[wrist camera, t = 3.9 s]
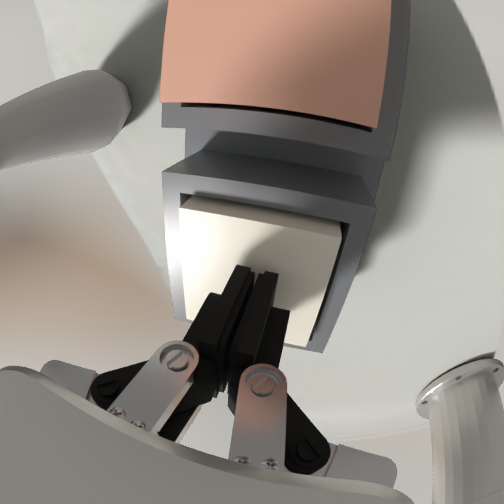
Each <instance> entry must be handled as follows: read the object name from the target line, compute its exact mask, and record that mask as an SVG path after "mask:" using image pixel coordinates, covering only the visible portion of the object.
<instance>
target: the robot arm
mask: <svg viewBox="0 0 504 504" xmlns="http://www.w3.org/2000/svg"><path fill="white" fill-rule="evenodd" d="M278 276H279V274H278V273H274V272H269V271H265V272H264V274H261V273H259V274H258V277H257V279H256V282H255V285H254V279H255V272H252V271H251V268H250V267H246V266H242V265H236V266H235V268H234V270H233V272H232V274H231V276H230V278H229V280H228V282H227V284H226V286H225V288H224V290H223V292H222V294H217V293H213V292H210V293H209V294H208V296H207V298H206V299H205V301H204V303H203V305H202V307H201V308H200V310H199V312H198V314H197V316H196V317H195V319H194V321H193V323H192V325H191V327H190V328H189V330H188V332H187V334H186V335H185V337H184V339H183V341H170V342H167V343H165V344H163V345H162V346H161V347H160V348H158V350H157V351H156V352H155V353H154V354H153V356H152V357H151V358H150V359H149V360H147V361H144V362H141V363H137V364H134V365H130V366H127V367H123V368H120V369H116V370H112V371H109V372H105V373H103V374H97V373H96V371H94V370H89V369H86V368H82V367H78V366H75V365H72V364H68V363H65V362H62V361H58V360H52V361H49V362H47V363H46V364H44V366H43V367H42V369H41V371H40V372H38V371H36V370H33V369H30V368H26V367H21V366H7V367H4V368H2V369H0V504H414V503H413V501H412V500H411V499H410V498H409V497H408V496H406V495H405V494H403V493H401V492H400V491H397V490H395V489H393V486H394V483H395V480H396V476H397V468H396V465H395V463H394V462H393V461H392V460H391V459H389V458H387V457H383V456H379V455H375V454H371V453H368V452H364V451H361V450H357V449H354V448H350V447H347V446H344V445H341V444H339V445H334V444H331V443H329V442H327V440H326V439H325V437H324V436H323V435H322V434H321V433H320V432H319V430H318V429H317V428H316V427H315V426H314V425H313V423H312V422H311V421H310V420H309V419H308V418H307V416H306V415H305V414H304V413H303V412H302V410H301V409H300V408H299V407H298V405H297V404H296V403H295V402H294V401H293V399H292V398H291V397H290V396H289V394H288V393H287V381H286V377H285V376H284V374H283V373H282V372H281V371H280V370H279V369H278V367H279V362H280V358H281V354H282V349H283V344H284V340H285V335H286V330H287V326H288V321H289V316H290V310H285V309H281V308H276V307H273V303H274V297H275V292H276V287H277V282H278ZM503 380H504V366H503V363H502V362H501V361H499V360H497V359H481V360H477V361H473V362H470V363H467V364H465V365H462V366H460V367H458V368H455V369H453V370H452V371H450V372H448V373H446V374H444V375H443V376H441V377H439V378H438V379H436V380H435V381H434V382H432V383H431V384H430V385H429V386H427V387H426V388H425V389H424V390H423V391H422V393H421V394H420V395H419V397H418V399H417V401H416V410H417V413H418V415H420V416H421V417H423V418H426V419H430V429H431V442H432V462H433V495H432V497H433V498H432V504H504V410H503V405H502V401H501V397H500V394H499V390H498V388H499V387H500V385H501V384H502V382H503ZM227 383H228V407H229V409H230V410H231V412H232V413H233V415H234V416H235V417H234V425H233V431H232V438H231V445H230V452H229V458H228V459H224V458H221V457H217V456H214V455H211V454H207V453H204V452H201V451H198V450H195V449H192V448H189V447H186V446H184V445H181V444H179V442H180V441H181V439H182V438H183V436H184V435H185V433H186V431H187V430H188V428H189V427H190V425H191V424H192V422H193V421H194V419H195V418H196V416H197V414H198V413H199V411H200V410H201V408H202V405H203V404H205V403H207V402H210V401H211V400H212V397H214V398H217V395H218V392H219V391H220V392H224V391H225V388H226V385H227Z"/></svg>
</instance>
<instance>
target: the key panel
mask: <svg viewBox="0 0 504 504" xmlns="http://www.w3.org/2000/svg"><path fill="white" fill-rule="evenodd" d="M409 26H410V0H391V20H390V34H389V46H388V56H387V65H386V73H385V80H384V88H383V94H382V101H381V107H380V113H379V118H378V124H377V129H376V128H373V127H369V126H365V125H361V124H357V123H353V122H348V121H344V120H339V119H335V118H330V117H325V116H320V115H314V114H309V113H303V112H296V111H290V110H283V109H275V108H267V107H258V106H248V105H236V104H221V103H194V102H165V103H162V127H164V128H186V133H185V159H183V160H182V161H180V162H178V163H176V164H174V165H173V166H171V167H169V168H167V169H166V170H164V171H162V188H163V208H164V224H165V237H166V249H167V260H168V269H169V279H170V287H171V295H172V303H173V310H174V317H175V318H176V319H179V320H182V321H186V322H190V323H193V321H192V320H189V319H186V309H185V298H184V287H183V274H182V260H181V243H180V221H179V207H180V206H182V205H183V204H184V203H185V202H186V201H187V200H188V199H189V198H191V197H192V196H193V195H199V196H206V197H212V198H219V199H225V200H231V201H237V202H243V203H249V204H254V205H260V206H266V207H271V208H276V209H282V210H287V211H292V212H297V213H302V214H307V215H312V216H317V217H322V218H327V219H332V220H336V221H340V227H341V236H342V239H341V243H340V246H339V250H338V253H337V256H336V260H335V263H334V266H333V269H332V273H331V276H330V279H329V282H328V285H327V288H326V291H325V294H324V297H323V300H322V303H321V306H320V309H319V312H318V315H317V318H316V321H315V323H314V326H313V329H312V332H311V334H310V337H309V340H308V342H307V345H306V347H303V346H298V345H292V344H287V343H284V344H283V346H287V347H292V348H298V349H303V350H308V351H314V352H319V353H323V351H324V349H325V346H326V344H327V342H328V340H329V338H330V335H331V333H332V331H333V328H334V326H335V324H336V321H337V319H338V317H339V314H340V312H341V309H342V307H343V304H344V302H345V299H346V297H347V294H348V292H349V289H350V286H351V284H352V281H353V279H354V276H355V273H356V270H357V268H358V265H359V262H360V259H361V256H362V253H363V250H364V247H365V244H366V241H367V238H368V235H369V232H370V229H371V226H372V222H373V219H374V216H375V212H376V209H377V208H376V206H375V204H374V199H375V195H376V192H377V188H378V184H379V180H380V176H381V172H382V168H383V164H384V160H387V161H389V160H390V155H391V151H392V147H393V142H394V137H395V132H396V127H397V122H398V117H399V111H400V105H401V99H402V93H403V86H404V79H405V71H406V62H407V52H408V41H409Z"/></svg>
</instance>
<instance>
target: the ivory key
mask: <svg viewBox="0 0 504 504" xmlns="http://www.w3.org/2000/svg"><path fill="white" fill-rule="evenodd" d="M179 221H180V243H181V260H182V274H183V287H184V298H185V309H186V319H189V320H192V321H194V319H195V317H196V316H197V314H198V312H199V310H200V308H201V307H202V305H203V303H204V301H205V299H206V298H207V296H208V294H209V293H210V292H213V293H217V294H222V292H223V290H224V288H225V286H226V284H227V282H228V280H229V278H230V276H231V274H232V272H233V270H234V268H235V266H236V265H242V266H246V267H250V268H251V271H252V272H255V279H254V285H255V282H256V279H257V277H258V274H259V273H261V274H264V272H265V271H269V272H274V273H278V274H279V276H278V282H277V287H276V292H275V297H274V303H273V307H276V308H281V309H285V310H290V316H289V321H288V326H287V330H286V335H285V340H284V343H287V344H292V345H298V346H303V347H306V345H307V342H308V340H309V337H310V334H311V332H312V329H313V326H314V323H315V321H316V318H317V315H318V312H319V309H320V306H321V303H322V300H323V297H324V294H325V291H326V288H327V285H328V282H329V279H330V276H331V273H332V269H333V266H334V263H335V260H336V256H337V253H338V250H339V246H340V243H341V239H342V236H341V227H340V221H336V220H332V219H327V218H322V217H317V216H312V215H307V214H302V213H297V212H292V211H287V210H282V209H276V208H271V207H266V206H260V205H254V204H249V203H243V202H237V201H231V200H225V199H219V198H212V197H206V196H199V195H193V196H192V197H191V198H189V199H188V200H187V201H186V202H185V203H184V204H183V205H182V206H180V207H179Z"/></svg>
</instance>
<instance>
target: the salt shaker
mask: <svg viewBox="0 0 504 504" xmlns="http://www.w3.org/2000/svg"><path fill="white" fill-rule="evenodd" d="M131 109H132V105H131V101H130V98H129V94H128V90H127V87H126V85H125V84H124V83H122V82H121V81H119V80H118V79H116V78H115V77H113V76H111V75H110V74H108V73H106V72H105V71H102V70H86V71H82V72H79V73H76V74H73V75H70V76H67V77H64V78H61V79H59V80H56V81H54V82H51V83H48V84H46V85H44V86H41V87H39V88H36V89H34V90H32V91H29V92H27V93H25V94H23V95H21V96H19V97H17V98H15V99H13V100H11V101H9V102H7V103H5V104H3V105H1V106H0V170H2V169H6V168H10V167H14V166H19V165H23V164H27V163H32V162H37V161H42V160H47V159H52V158H58V157H63V156H69V155H76V154H82V153H90V152H94V151H96V150H98V149H101V148H103V147H105V146H107V145H108V144H110V143H111V142H112V140H113V139H114V138H115V137H116V135H117V134H118V133H119V132H120V131H121V129H122V128H123V126H124V124H125V121H126V119H127V117H128V115H129V113H130V111H131Z"/></svg>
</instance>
